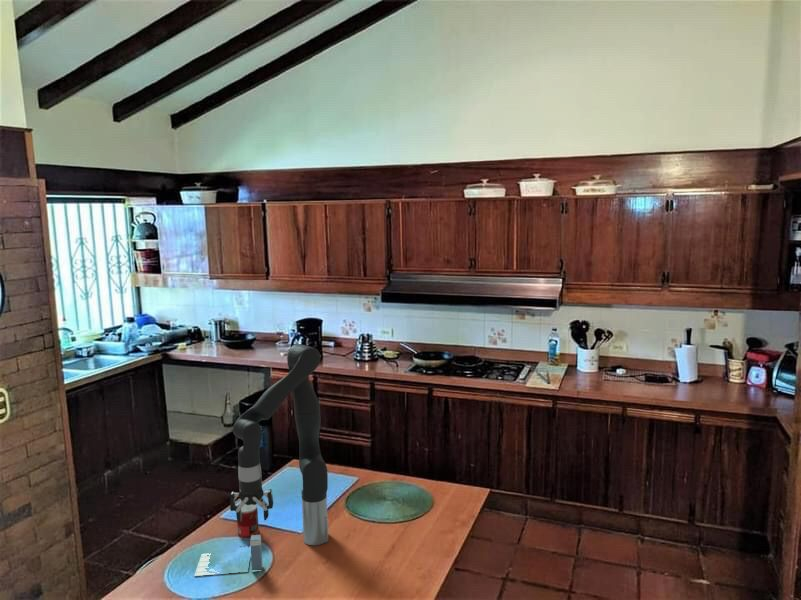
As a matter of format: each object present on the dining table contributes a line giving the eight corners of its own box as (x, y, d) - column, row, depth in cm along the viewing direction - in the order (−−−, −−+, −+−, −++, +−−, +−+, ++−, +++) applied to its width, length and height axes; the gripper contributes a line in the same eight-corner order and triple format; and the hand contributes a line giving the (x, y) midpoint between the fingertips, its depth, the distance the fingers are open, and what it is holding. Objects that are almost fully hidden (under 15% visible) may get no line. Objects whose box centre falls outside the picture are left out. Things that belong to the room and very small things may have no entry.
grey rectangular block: (262, 566, 212) (260, 534, 209) (261, 571, 208) (259, 539, 206) (253, 566, 211) (251, 535, 209) (252, 572, 208) (250, 540, 206)
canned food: (253, 539, 228) (252, 512, 226) (234, 537, 230) (232, 510, 228) (262, 528, 235) (260, 502, 234) (243, 526, 237) (241, 500, 235)
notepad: (252, 550, 221) (252, 549, 221) (248, 572, 208) (247, 571, 208) (201, 554, 219) (201, 553, 218) (194, 577, 206) (194, 575, 206)
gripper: (272, 469, 209) (275, 513, 211) (230, 472, 207) (233, 515, 210) (270, 480, 201) (272, 524, 204) (226, 482, 200) (229, 527, 203)
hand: (252, 519), depth 207 cm, fingers open, 8 cm apart
